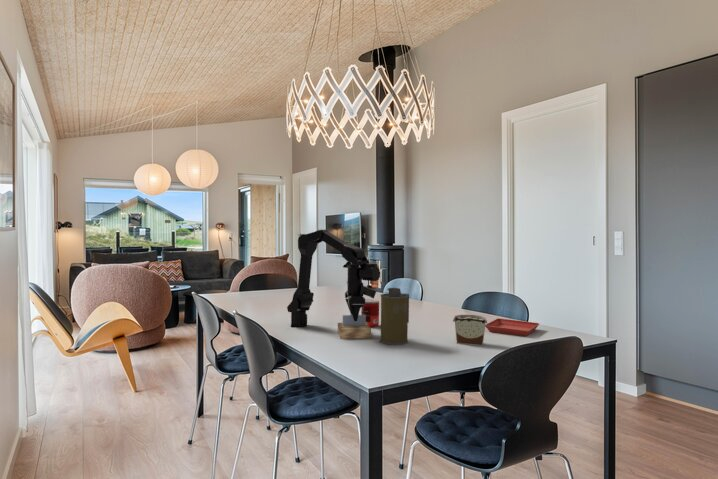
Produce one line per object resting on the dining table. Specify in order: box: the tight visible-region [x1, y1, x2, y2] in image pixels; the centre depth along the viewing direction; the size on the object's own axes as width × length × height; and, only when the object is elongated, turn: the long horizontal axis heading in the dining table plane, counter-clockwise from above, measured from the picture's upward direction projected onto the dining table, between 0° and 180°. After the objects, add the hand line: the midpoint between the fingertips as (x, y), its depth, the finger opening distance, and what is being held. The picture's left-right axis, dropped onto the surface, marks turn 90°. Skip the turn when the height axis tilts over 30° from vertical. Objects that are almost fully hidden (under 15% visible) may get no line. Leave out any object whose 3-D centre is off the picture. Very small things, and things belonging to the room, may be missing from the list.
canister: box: [379, 287, 410, 346], centre depth 177 cm, size 11×10×20 cm
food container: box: [452, 314, 488, 347], centre depth 176 cm, size 12×6×10 cm, turn 71°
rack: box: [337, 322, 372, 340], centre depth 187 cm, size 12×12×4 cm
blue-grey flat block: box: [341, 314, 366, 326], centre depth 187 cm, size 9×2×7 cm, turn 97°
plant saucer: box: [485, 318, 540, 337], centre depth 198 cm, size 18×18×3 cm
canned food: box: [360, 298, 380, 328], centre depth 206 cm, size 8×8×11 cm
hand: (354, 318), depth 187 cm, fingers open, 9 cm apart
